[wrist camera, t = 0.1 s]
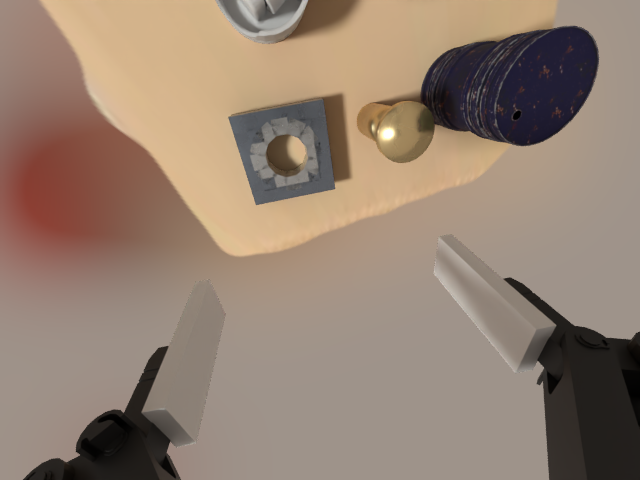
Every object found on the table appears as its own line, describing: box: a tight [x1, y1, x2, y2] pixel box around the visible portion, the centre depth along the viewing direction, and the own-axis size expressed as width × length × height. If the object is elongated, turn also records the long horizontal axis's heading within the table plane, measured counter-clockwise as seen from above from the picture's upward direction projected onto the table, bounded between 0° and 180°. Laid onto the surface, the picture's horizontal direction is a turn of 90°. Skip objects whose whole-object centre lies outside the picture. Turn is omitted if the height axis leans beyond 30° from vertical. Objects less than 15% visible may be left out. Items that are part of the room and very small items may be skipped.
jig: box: [228, 98, 335, 205], centre depth 37 cm, size 12×12×3 cm
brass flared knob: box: [357, 101, 435, 163], centre depth 32 cm, size 6×6×12 cm
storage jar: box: [421, 26, 599, 146], centre depth 30 cm, size 10×10×15 cm
